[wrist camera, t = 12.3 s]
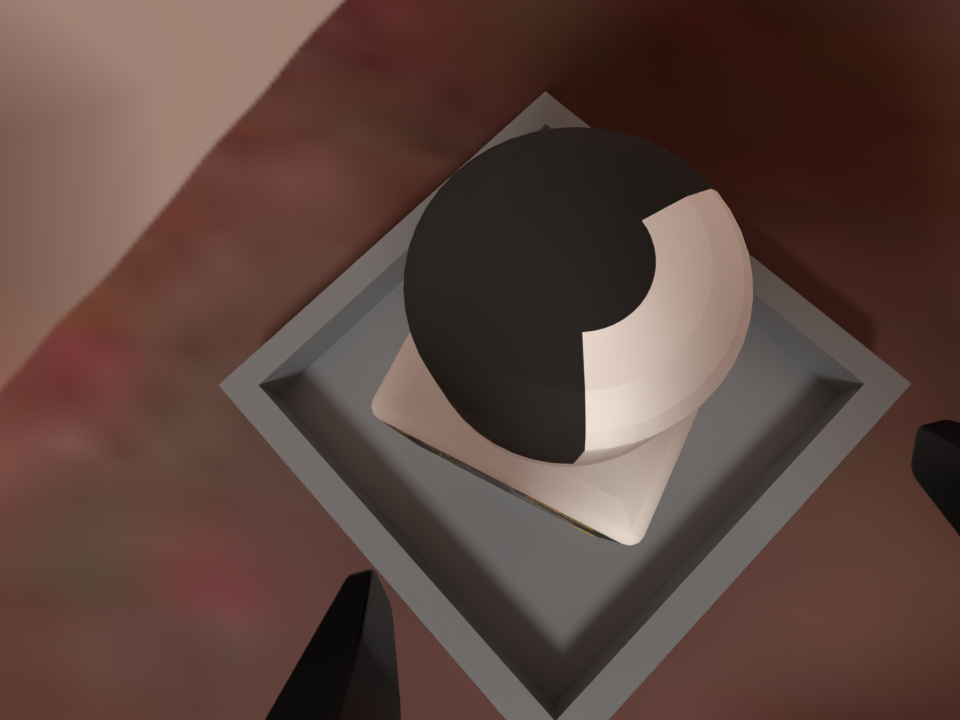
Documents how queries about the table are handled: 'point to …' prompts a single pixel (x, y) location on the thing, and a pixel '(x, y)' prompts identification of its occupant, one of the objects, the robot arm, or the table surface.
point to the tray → (533, 532)
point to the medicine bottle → (569, 322)
